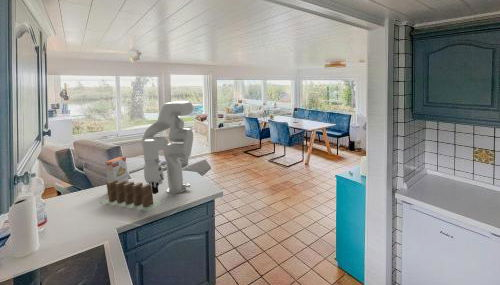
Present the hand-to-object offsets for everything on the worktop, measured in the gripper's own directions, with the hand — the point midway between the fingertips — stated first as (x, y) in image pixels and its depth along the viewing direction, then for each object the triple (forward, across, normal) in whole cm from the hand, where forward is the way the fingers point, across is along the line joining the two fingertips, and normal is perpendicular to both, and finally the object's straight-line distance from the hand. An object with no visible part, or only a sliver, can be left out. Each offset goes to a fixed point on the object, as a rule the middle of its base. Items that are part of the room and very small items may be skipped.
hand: (155, 193), depth 157 cm
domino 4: (+8, +13, 0) cm, 15 cm away
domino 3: (+8, +19, 0) cm, 21 cm away
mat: (+9, +19, 0) cm, 21 cm away
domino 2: (+8, +26, 0) cm, 27 cm away
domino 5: (+8, +6, 0) cm, 10 cm away
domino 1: (+8, +32, 0) cm, 33 cm away
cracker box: (+9, +47, -18) cm, 51 cm away
